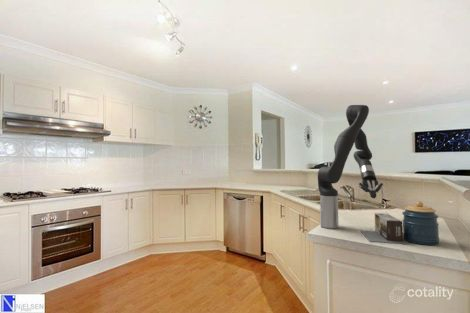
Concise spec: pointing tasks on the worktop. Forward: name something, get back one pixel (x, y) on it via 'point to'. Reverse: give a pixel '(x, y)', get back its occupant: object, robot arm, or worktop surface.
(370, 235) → the charcoal mat
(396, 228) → the coffee box
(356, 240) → the worktop surface
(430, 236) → the canister
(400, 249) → the worktop surface
